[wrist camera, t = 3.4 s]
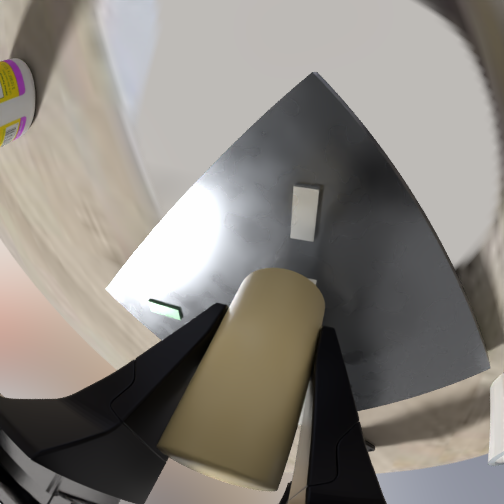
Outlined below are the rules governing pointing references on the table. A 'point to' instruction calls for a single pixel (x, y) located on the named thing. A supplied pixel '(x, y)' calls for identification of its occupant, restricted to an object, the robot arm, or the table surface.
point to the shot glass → (496, 422)
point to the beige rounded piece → (250, 383)
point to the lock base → (316, 248)
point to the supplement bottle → (15, 99)
